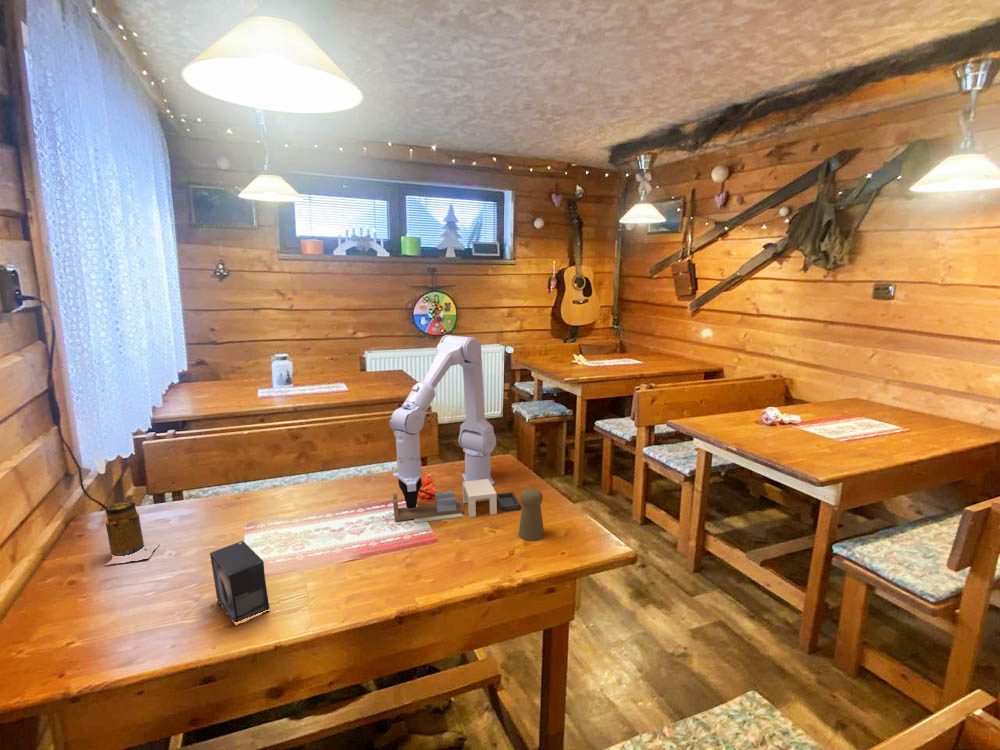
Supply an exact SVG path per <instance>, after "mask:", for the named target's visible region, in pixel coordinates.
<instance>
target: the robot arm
mask: <svg viewBox="0 0 1000 750" xmlns="http://www.w3.org/2000/svg"><path fill="white" fill-rule="evenodd" d="M436 352H437V353H436V356H435V358H434V360H433V362H432V363H431V366H429V369H428V371H427V373H426V375H425V377H424V379H423V380H422V381H421V382H416V383H415V384H414V385H413V386H412V388H411V391H410V392H409V394H408V395H407V397H406V399H405V400H404V402H403V403H402V405H401V407H398V408H396V409H395V410H394V411H393V412H392V414H391V416H390V420H389V422H388V423H389V426H390V428H391V429H392V431H393V436H394V437H395V445H396V447H395V448H396V450H395V451H396V463H397V464H396V465H397V467H396V468H397V472H393V473H392V477H393V479H397V480H398V486H399V489H400V490H401V492H402V494H403V497H404V501H405V505H406V507H407V508H415V507H416V506H417V504H418V503H417V502H418V496H419V492H420V490H421V488H422V485H423V482H422V475H423V471H422V463H421V462H422V461H421V446H420V445H421V443H420V440H421V439H420V431H421V430H423V427H424V426H425V425H424V424H425V418H426V412H427V411H428V409H429V408H430V405H431V403H432V402H433V401H434V398H435V397H436V390H435V389H436V387H438V384H439V383H440V382H441V380H442V379H443V377H445V375H446V374H447V371H449V369H450V368H451V367H452V366H456V365H459V366H461V367H462V376H463V377H462V378H463V391H464V407H465V408H464V409H465V411H464V412H465V420H464V421H463V422H462V423H461V424H460V426H459V427H460V428H459V435H458V444H459V446H460V447H461V448H462V452H464V472H465V473H461V476H462V478H463V482H464V481H473V480H483V479H489V481H490V483H491V484H492V486H493V485H495V481H494V479H493V477H492V476H491V474H492V471H491V469H492V467H491V453H493V451H494V450H495V448H496V445H497V438H496V434H495V432H494V426H493V425H492V424H491V423H490V422H489V420H487V419H486V412H485V392H484V374H483V359H482V343H481V341H479V340H478V339H477V338H476V337H474V336H462V335H461V336H459V335H452V334H445V335H443V336H442V337H441V338H440V340H439V343H438V344H437V346H436Z"/></svg>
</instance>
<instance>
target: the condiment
mask: <svg viewBox="0 0 1000 750" xmlns="http://www.w3.org/2000/svg"><path fill="white" fill-rule="evenodd" d="M105 513H106V521H105V527H106V528H105V529H106V532H107V540H108V545H109V550H110V555H111V554H112V555H114V556H125V555H130V554H133V553H135V552H137V551H139V550H140V549H142V548H143V547H144V546H145V545H144V537H143V531H142V527H141V521H140V514H139V513H138V512H137V508H136V503H135V502H134V501H131V500H124V501H123V500H122V501H118V502H115V503H113V504H110V505H109V506H107V507H106V508H105Z"/></svg>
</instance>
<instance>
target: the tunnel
mask: <svg viewBox="0 0 1000 750" xmlns="http://www.w3.org/2000/svg"><path fill="white" fill-rule="evenodd" d="M496 494H497V491H496V490H495V488H494V487H493V485H492V484H491V483H490V481H489V479H483V480H473V481H464V480H463V481H462V499H463V500H462V502H463V504H468V507H467V508H468V517H469V518H476V516H477V511H476V509H477V508H476V503H477V502H485V501H486V502H487V501H489V515H490V516H494V515H497V514H498V511H497V510H498V509H497V507H498V506H497V505H498V504H497V495H496Z"/></svg>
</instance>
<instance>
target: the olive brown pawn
mask: <svg viewBox="0 0 1000 750" xmlns="http://www.w3.org/2000/svg"><path fill="white" fill-rule="evenodd" d="M543 497H544V495H543V493H542V492H541V490H539V489H537V488H532V487H530V488H524V489H523V490H522V491H521V492H520V496H519V500H520V501H519V502H520V504H522V505H521V514H520V521H519V529H518V537H519V538H520V539H522V540H523V541H528V542H536V541H540V540H543V538H544V537H545V529H544V523H543V516H542V515H543V514H542V507H541V504H542V503H543Z"/></svg>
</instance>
